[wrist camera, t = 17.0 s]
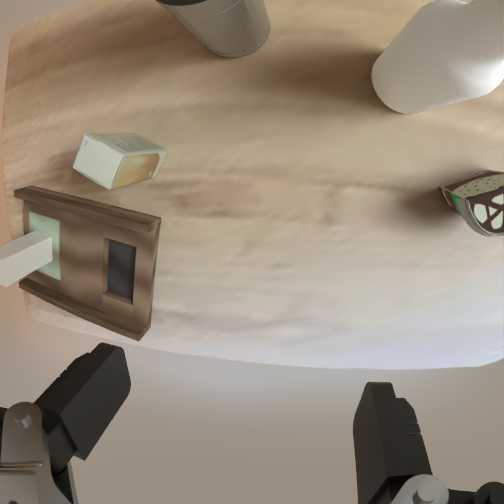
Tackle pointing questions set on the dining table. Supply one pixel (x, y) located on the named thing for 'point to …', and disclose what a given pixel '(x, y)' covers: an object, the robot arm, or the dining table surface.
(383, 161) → the dining table surface
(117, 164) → the skincare box
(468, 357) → the dining table surface
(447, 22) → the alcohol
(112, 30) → the dining table surface
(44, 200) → the channel
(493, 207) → the food container
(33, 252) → the block
